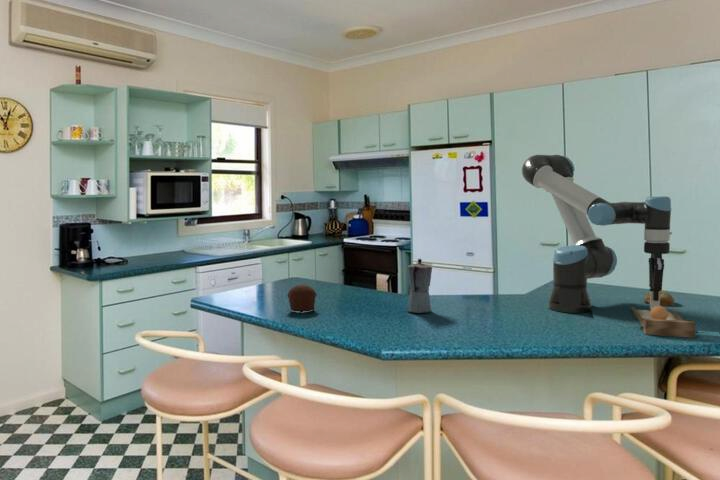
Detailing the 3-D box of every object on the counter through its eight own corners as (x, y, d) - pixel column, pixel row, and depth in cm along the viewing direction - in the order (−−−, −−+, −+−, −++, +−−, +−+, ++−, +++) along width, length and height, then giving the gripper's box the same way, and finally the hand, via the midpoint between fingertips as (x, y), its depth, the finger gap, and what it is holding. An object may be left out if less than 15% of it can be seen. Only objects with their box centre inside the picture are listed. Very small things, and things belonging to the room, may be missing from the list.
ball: (650, 305, 161) (650, 305, 166) (649, 320, 161) (650, 320, 165) (668, 307, 159) (668, 306, 163) (667, 322, 158) (668, 321, 163)
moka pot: (434, 307, 194) (434, 256, 192) (429, 317, 179) (428, 262, 177) (410, 306, 196) (409, 256, 195) (403, 316, 182) (402, 262, 180)
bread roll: (673, 319, 183) (684, 300, 181) (646, 307, 184) (657, 287, 183) (662, 312, 192) (673, 294, 191) (637, 301, 194) (647, 283, 193)
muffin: (323, 309, 195) (322, 284, 194) (305, 315, 185) (304, 289, 185) (300, 306, 201) (299, 282, 200) (281, 312, 192) (280, 286, 191)
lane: (645, 334, 152) (645, 320, 152) (631, 312, 179) (631, 300, 179) (695, 337, 148) (695, 323, 147) (672, 315, 174) (673, 302, 174)
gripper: (674, 243, 162) (671, 314, 164) (665, 239, 174) (663, 305, 177) (647, 243, 165) (645, 312, 167) (641, 239, 177) (639, 304, 179)
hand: (654, 309), depth 172 cm, fingers closed
